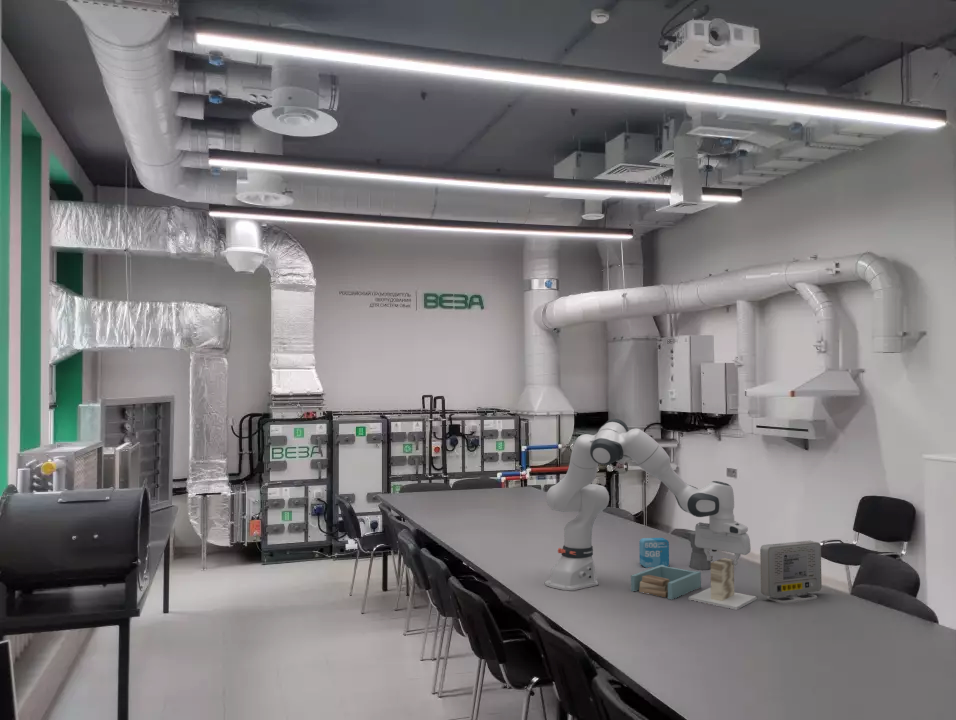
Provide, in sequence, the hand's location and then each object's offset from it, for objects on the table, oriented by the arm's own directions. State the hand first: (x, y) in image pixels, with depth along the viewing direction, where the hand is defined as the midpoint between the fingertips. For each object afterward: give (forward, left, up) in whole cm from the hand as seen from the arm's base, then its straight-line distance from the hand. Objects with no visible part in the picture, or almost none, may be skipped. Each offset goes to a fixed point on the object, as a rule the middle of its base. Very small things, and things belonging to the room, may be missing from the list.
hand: (722, 562), depth 266 cm
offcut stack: (-11, +22, -13) cm, 28 cm away
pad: (-1, 0, -13) cm, 13 cm away
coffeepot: (+40, +27, -13) cm, 50 cm away
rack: (-2, +22, -13) cm, 25 cm away
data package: (+28, +44, -14) cm, 54 cm away
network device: (+19, -18, -14) cm, 30 cm away
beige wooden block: (-1, 0, -12) cm, 12 cm away
